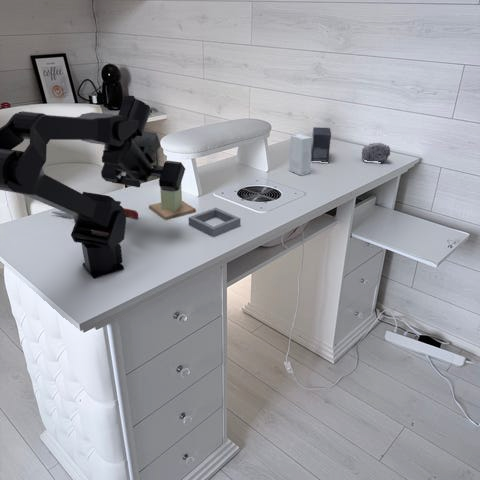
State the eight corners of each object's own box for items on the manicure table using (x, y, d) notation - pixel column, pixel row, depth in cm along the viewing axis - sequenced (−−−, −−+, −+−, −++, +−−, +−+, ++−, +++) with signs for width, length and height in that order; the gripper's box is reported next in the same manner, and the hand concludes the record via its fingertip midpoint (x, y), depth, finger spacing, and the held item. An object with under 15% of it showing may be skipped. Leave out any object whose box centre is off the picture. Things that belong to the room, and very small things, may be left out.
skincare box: (310, 173, 145) (313, 137, 139) (299, 176, 143) (303, 139, 137) (297, 168, 149) (300, 133, 144) (287, 171, 147) (290, 135, 142)
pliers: (72, 206, 118) (70, 196, 117) (140, 218, 112) (140, 209, 111) (40, 224, 108) (38, 214, 107) (113, 239, 102) (112, 228, 101)
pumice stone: (364, 162, 166) (356, 161, 158) (369, 141, 164) (361, 139, 156) (392, 166, 161) (385, 165, 152) (397, 145, 159) (390, 143, 151)
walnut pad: (165, 219, 110) (165, 217, 110) (149, 208, 117) (148, 205, 116) (195, 211, 115) (195, 209, 115) (178, 201, 122) (178, 198, 121)
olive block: (175, 211, 114) (173, 174, 109) (161, 208, 115) (159, 172, 110) (182, 205, 117) (180, 169, 112) (168, 203, 118) (166, 167, 113)
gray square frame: (213, 236, 103) (213, 229, 102) (188, 224, 108) (188, 217, 107) (240, 225, 108) (240, 218, 108) (215, 214, 114) (215, 207, 113)
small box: (310, 154, 165) (312, 126, 160) (327, 155, 164) (330, 127, 160) (310, 162, 156) (313, 133, 151) (328, 164, 155) (332, 134, 150)
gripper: (180, 126, 91) (201, 162, 105) (101, 118, 96) (132, 154, 110) (164, 174, 88) (188, 205, 102) (85, 163, 93) (118, 194, 107)
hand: (156, 188), depth 106 cm, fingers open, 9 cm apart
